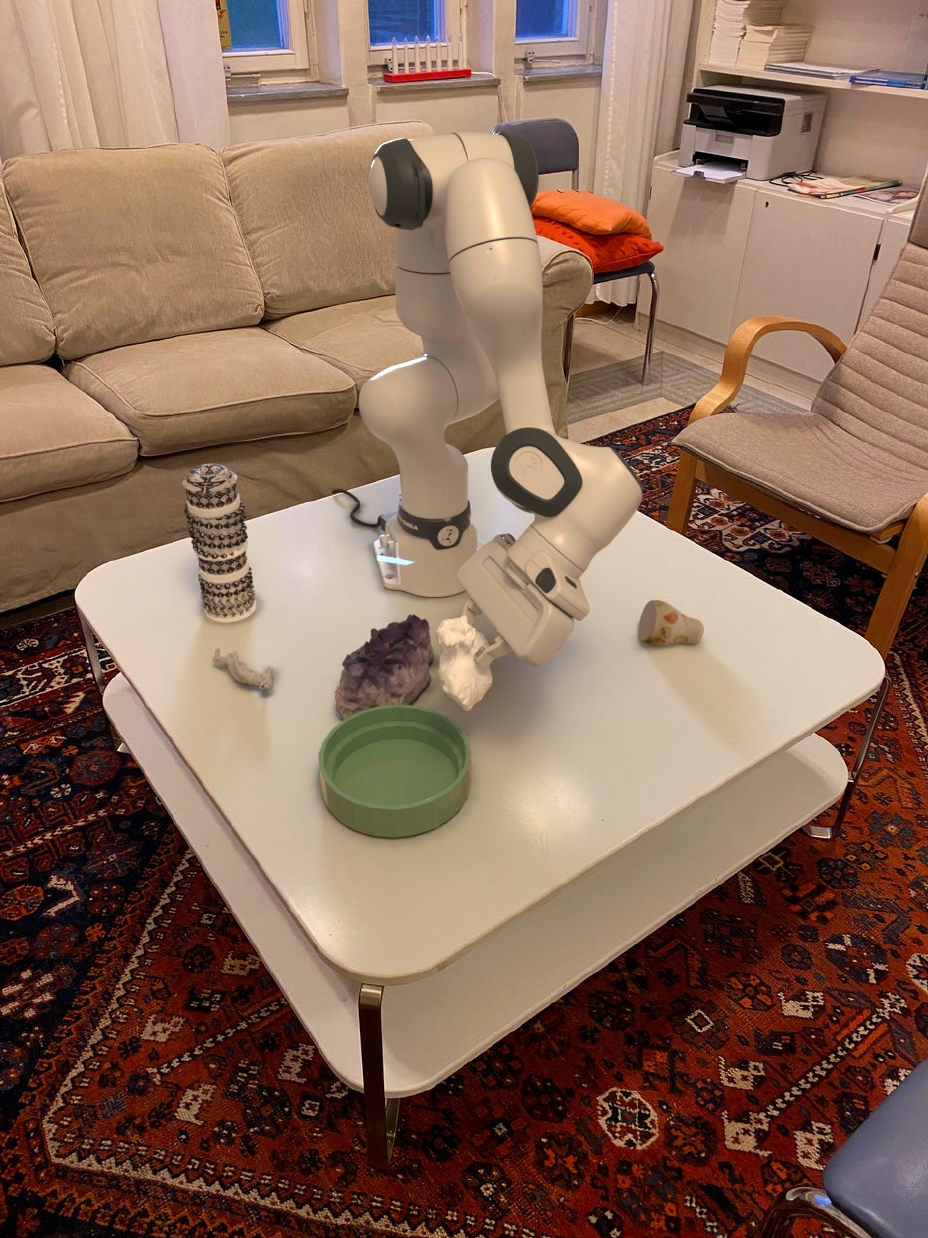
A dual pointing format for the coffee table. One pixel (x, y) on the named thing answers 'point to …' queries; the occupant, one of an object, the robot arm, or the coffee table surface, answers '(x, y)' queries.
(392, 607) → the coffee table surface
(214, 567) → the decorative candle
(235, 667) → the grey figurine
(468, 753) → the bowl
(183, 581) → the coffee table surface
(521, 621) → the robot arm
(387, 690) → the geode
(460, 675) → the bust
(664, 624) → the mug
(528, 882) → the coffee table surface
